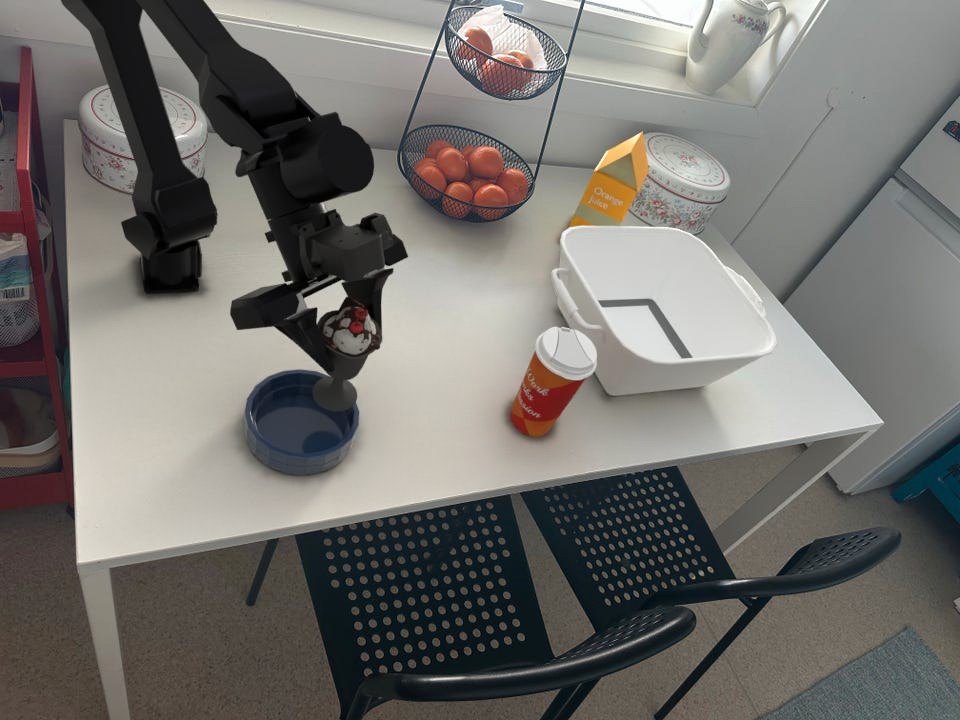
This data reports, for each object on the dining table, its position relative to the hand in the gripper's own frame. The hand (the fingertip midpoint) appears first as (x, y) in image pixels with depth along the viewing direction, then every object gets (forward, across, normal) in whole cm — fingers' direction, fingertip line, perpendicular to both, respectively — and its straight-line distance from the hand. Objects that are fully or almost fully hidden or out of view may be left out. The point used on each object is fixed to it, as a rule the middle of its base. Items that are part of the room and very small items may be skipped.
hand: (355, 357), depth 73 cm
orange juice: (+7, +62, +12) cm, 64 cm away
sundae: (+4, 0, +6) cm, 8 cm away
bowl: (+8, -3, +11) cm, 14 cm away
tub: (+20, +45, -2) cm, 50 cm away
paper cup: (+19, +21, -1) cm, 29 cm away
